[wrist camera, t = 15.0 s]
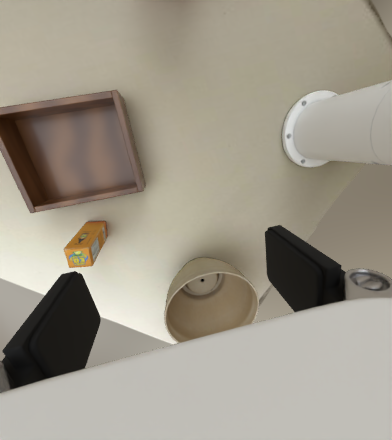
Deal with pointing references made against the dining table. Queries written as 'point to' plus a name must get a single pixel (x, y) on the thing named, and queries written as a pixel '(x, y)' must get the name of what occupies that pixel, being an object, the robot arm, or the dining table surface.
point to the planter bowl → (208, 300)
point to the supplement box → (86, 244)
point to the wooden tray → (70, 150)
